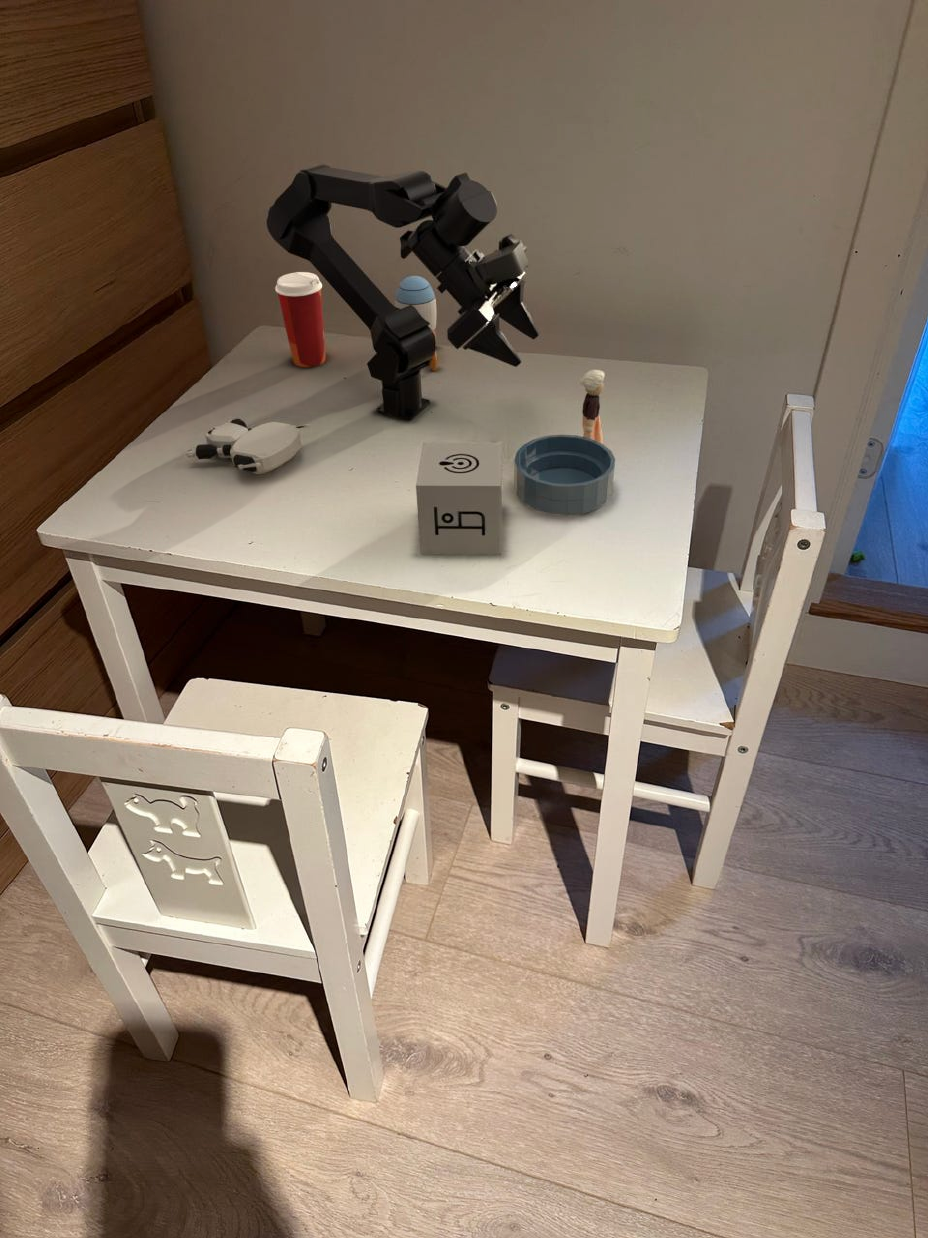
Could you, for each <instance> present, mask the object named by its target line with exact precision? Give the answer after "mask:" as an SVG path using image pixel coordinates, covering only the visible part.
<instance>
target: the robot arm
mask: <svg viewBox="0 0 928 1238" xmlns="http://www.w3.org/2000/svg"><path fill="white" fill-rule="evenodd" d="M332 204H336V205H340V206H347V207H351V208H355V209H361V210H365V211H369V212H371V213H372V214H373V215H374V217H375V218H376V220H378V221H380V222H382V223H384V224H386V225H388V226H391V227H392V228H396V229H400V228H403V227H406V226H409V225H411V224H414V223H418V222H419V221H421V223H419V224H418V225H417V227H416V228H415V229H414V230H409V229H408V230H406V231H405V232H404V233H403V234H402V235H401V236H400V237H399V242H400V250H399V251H400V258H401V259H403V260H406V258H408V257H409V256H410V254H411V253H413V254H414V256H415V257H417V259H418V260H419V261H420V262H421V263H422V264H423V265H424V267H425V268H426V269H427V271H428V272H430V274H432V276H433V277H434V278H435V279H436V280H437V282H438V283H440V284H439V285H438V286H437V287H436V289H437V291H438V292H439V293H440V294H444V292H445V291H447V293H449V295H450V296H451V297H452V298H453V300H454V301H455V302H456V303H457V304H458V305H459V306H460V307H459V309H458V310H457V313H458V314H459V316H457V318H456V319H454V321H453V322H452V323H451V324H450V326H449V327H448V328H446V334H447V335H446V336H447V337H446V338H447V340H448V341H449V342H450V344H452V346H453V347H454V348H455V349H456V350H459V349H460V348H462V349H463V350H465V351H466V350H470V351H474V352H477V353H479V354H482V355H485V356H488V357H490V358H493V359H496V360H498V361H500V362H503V363H505V364H508V365H510V366H512V367H513V368H514V367H515V368H517V367H518V366H519V365H521V363H522V360H521V358H520V356H519V354H518V353H517V352H516V350H515V349H514V347H513V346H512V345H511V343H510V342H509V340H508V339H507V337H506V336H505V334H504V333H503V331H501V328H500V319H501V320H502V321H504V322H506V323H507V324H508V325H511V326H512V327H513V328H515V329H516V330H517V331H519V332H520V333H522V334H523V335H525V336H526V337H528V338H530V339H532V340H535V339H537V338H538V337H539V335H540V333H539V331H538V328H537V326H536V323H535V322H534V319H533V317H532V315H531V313H530V311H529V308H528V306H527V304H526V301H525V297H524V291H525V284H526V279H525V278H523V277H524V276H525V274H526V272H525V269H527V268H528V267H529V266H530V263H529V260H528V257H527V256H526V251H527V250H528V247H527V245H526V244H524V243H523V241H522V240H521V239H520V240H519V238H517V237H516V236H515V235H514V234H513V233H509V234H507V235H504V236H502V238H501V239H500V240H499V241H498V249H494V251H492V252H491V253H489V254H486V255H485V254H484V253H483V251H481V250H480V249H477V248H475V249H473V251H471V250H470V249H469V248H468V246H469V244H471V243H472V241H474V239H476V238H477V237H478V236H479V235H480V234H481V232H483V230H485V229H486V228H487V227H488V226H489V225H490V224H491V223H492V222H493V221H494V220H495V219H496V216H497V215H498V205H497V201H496V198H495V196H494V194H493V193H492V192H491V190H488V188H487V187H486V186H485V185H483V184H482V183H480V182H479V181H476V180H472V179H471V178H470V176H469V175H468V173H467V172H462V173H459V174H456V175H454V177H453V178H452V179H451V180H450V182H449V183H448V186H447V187H446V186H445V185H444V186H443V184H440V183H438V182H436V181H435V180H434V181H433V180H432V176H431V175H430V174H428V172H426V171H424V170H415V171H414V170H413V171H407V172H400V173H394V174H389V175H378V174H372V173H365V172H359V171H354V170H349V169H348V170H347V169H342V168H338V167H337V168H336V167H331V166H330V165H327V164H317V165H313V166H310V167H307V168H306V167H305V168H303V169H300V170H299V172H297V173H296V174H295V176H294V177H293V179H292V182H291V184H289V186H288V187H287V188H286V189H284V191H283V192H282V193H281V194H280V195H279V196H278V197H277V198H276V200H275V201H274V203H273V205H271V206H270V207H269V209H268V213H267V218H266V228H267V231H268V233H269V235H270V236H271V237H272V239H273V241H274V242H276V243H277V244H278V245H279V246H280V247H282V249H283V250H285V251H286V252H287V253H288V254H290V255H293V256H295V257H298V258H301V259H303V260H305V261H308V262H309V263H310V264H311V265H312V266H313V267H314V268H315V269H316V270H317V271H318V273H319V274H320V275H321V276H322V277H323V278H324V279H325V281H326V282H327V283H328V284H329V286H331V287H332V288H333V289H334V291H335V292H336V293H337V294H338V295H339V296H340V298H342V299H343V301H344V302H345V303H346V305H348V307H349V308H350V309H351V310H352V311H353V312H354V314H356V316H357V317H358V318H359V319H360V320H361V321H362V323H363V324H364V325H365V326H366V327H367V328H368V330H369V332H370V337H371V342H372V348H373V350H374V352H375V354H374V355H373V357H371V358H370V359H369V360H368V362H367V363H366V365H367V368H368V370H369V375H370V377H371V378H373V379H376V380H378V381H380V382H381V397H382V403H381V404H379V406H377V407H376V408H375V412H376V413H378V414H382V415H386V416H391V417H395V418H398V419H402V420H407V421H412V420H413V419H414V418H416V417H417V416H418V415H419V414H420V413H422V412H423V411H424V410H425V409H426V408H428V406H429V405H431V400H430V399H428V398H423V395H422V393H423V392H422V378H421V370H423V369H426V368H429V367H430V364H431V360H432V357H433V356H434V354H435V351H436V352H437V349H436V348H437V347H436V346H437V338H436V339H435V335H434V333H433V331H432V330H431V328H430V327H429V326H428V325H430V322H428V321H426V320H425V319H424V318H423V317H422V316H421V315H420V314H419V312H418V311H417V309H416V308H415V307H413V306H412V305H409V306H407V307H404V308H402V309H400V308H397V307H395V304H393V303H392V302H391V301H390V300H389V299H388V298H387V296H386V295H385V294H384V293H383V292H382V291H381V290H380V288H378V286H377V285H376V284H375V283H374V281H372V280H371V279H370V278H369V276H368V275H367V274H366V273H365V272H364V270H363V269H362V268H361V267H360V266H359V265H358V264H357V263H356V262H355V261H354V259H353V258H352V257H351V256H350V255H349V253H347V252H346V250H345V249H344V248H343V247H342V246H341V245H340V243H339V242H338V241H337V240H336V239H335V237H334V236H333V230H332V223H331V219H330V218H329V216H328V214H329V212H330V211H331V209H332V206H333V205H332ZM430 217H431V218H432V219H427V218H430ZM425 219H427V220H425ZM422 220H423V221H422ZM522 278H523V279H522ZM521 279H522V280H521ZM519 281H520V282H519ZM517 282H519V283H517ZM493 305H494V306H493Z"/></svg>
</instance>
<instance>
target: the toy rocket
mask: <svg viewBox="0 0 928 1238" xmlns="http://www.w3.org/2000/svg"><path fill="white" fill-rule="evenodd" d="M394 298H395V299H394V306H395V307H397V308H400V309H402V308H404V307H407V306H409V305H412V306H413V307H415V308H416V309H417V311H418V312H419V314H420V315H421V316H422V317H423V318H424V319H425V320H426V321H428V322H430V325H428V326H429V327H430V328H431V330H432V331H433V333H434V335H435V339H436V340H437V335H436V327H437V299H436V294H435V293H434V289H433V287H432V286H431V284H430V282H429V281H428V280H427V279H425V278H424V277H422V276H418V275H410V276H408V277H406V278H404V279H403V280H402V281H400V283H399V284H398V287H397V289H396V293H395V297H394ZM429 367H430V369H431V371H433V372H436V371H437V368H438V356H437V350H436V351H435V354H434V356H433V357H432V360H431V364H430V366H429Z"/></svg>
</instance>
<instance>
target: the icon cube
mask: <svg viewBox="0 0 928 1238" xmlns="http://www.w3.org/2000/svg"><path fill="white" fill-rule="evenodd" d="M415 482H416V483H415V492H416V506H417V507H416V508H417V521H418V522H417V523H418V537H419V550H420V555H477V556H478V555H479V556H481V555H485V556H486V555H491V556H495V555H496V556H500V555H501V554H502V523H503V520H502V519H503V442H422V446H421V452H420V458H419V465H418V470H417V476H416V481H415Z"/></svg>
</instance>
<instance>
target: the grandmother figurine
mask: <svg viewBox="0 0 928 1238" xmlns="http://www.w3.org/2000/svg"><path fill="white" fill-rule="evenodd" d="M605 377H606V376H605V372H604V371H602V370H601V369H600V370H599V369H590V370H589V371H587V372H586V373H585V374H583V376H582V377H581V379H580V381H579V384H580V385H581V386H582V385H583V386H584V390H585V392H586V394H585V397H584V400H583V403H582V411H581V414H582V429H583V436H582V437H586V438H590V439H592V440H595V441H597V442H599V443H601V444H603V445H604V443H603V441H604V439H603V431H602V429H603V428H602V422H601V417H600V409H601V404H600V403H601V402H600V394H601V393H603V391H604V388H605V384H604V379H605Z"/></svg>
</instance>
